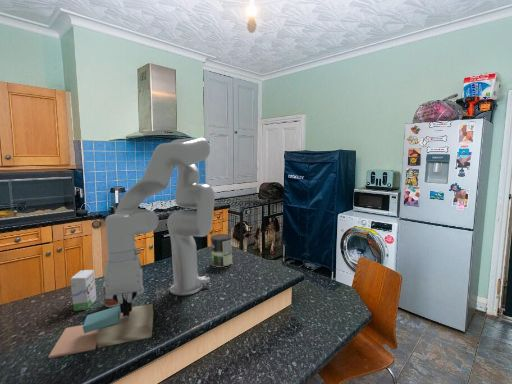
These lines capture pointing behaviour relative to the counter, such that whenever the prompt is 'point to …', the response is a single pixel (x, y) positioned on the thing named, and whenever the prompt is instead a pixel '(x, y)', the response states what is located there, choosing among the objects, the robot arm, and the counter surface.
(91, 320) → the tile
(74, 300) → the ink box
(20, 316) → the counter surface
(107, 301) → the pill bottle
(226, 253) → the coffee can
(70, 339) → the mat
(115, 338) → the platform
